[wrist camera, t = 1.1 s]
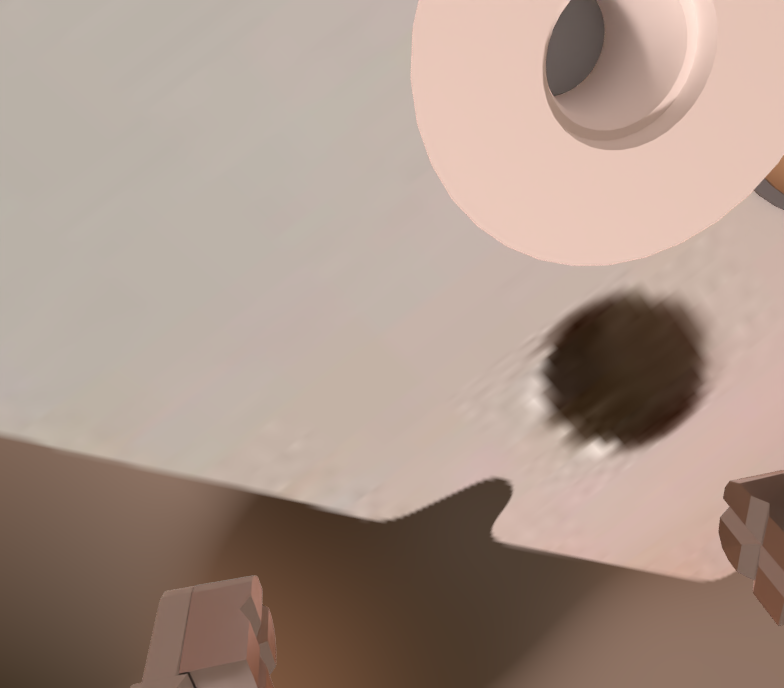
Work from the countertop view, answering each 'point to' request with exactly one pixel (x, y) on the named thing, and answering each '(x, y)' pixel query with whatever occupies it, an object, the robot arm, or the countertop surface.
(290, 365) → the countertop surface
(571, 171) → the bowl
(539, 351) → the countertop surface
